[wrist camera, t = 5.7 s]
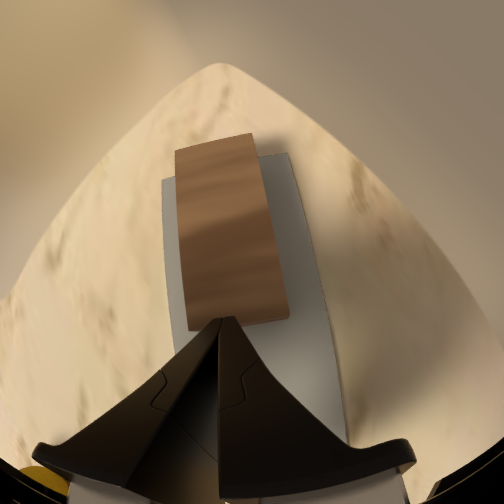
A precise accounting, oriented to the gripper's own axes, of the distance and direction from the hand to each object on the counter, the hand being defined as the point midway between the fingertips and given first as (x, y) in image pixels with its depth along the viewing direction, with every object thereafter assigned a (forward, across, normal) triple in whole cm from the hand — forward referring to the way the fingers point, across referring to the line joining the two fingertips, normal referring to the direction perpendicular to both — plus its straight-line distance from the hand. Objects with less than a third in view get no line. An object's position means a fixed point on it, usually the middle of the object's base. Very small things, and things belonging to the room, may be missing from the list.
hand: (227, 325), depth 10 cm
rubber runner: (+5, 0, -5) cm, 7 cm away
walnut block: (+4, 0, -3) cm, 5 cm away
